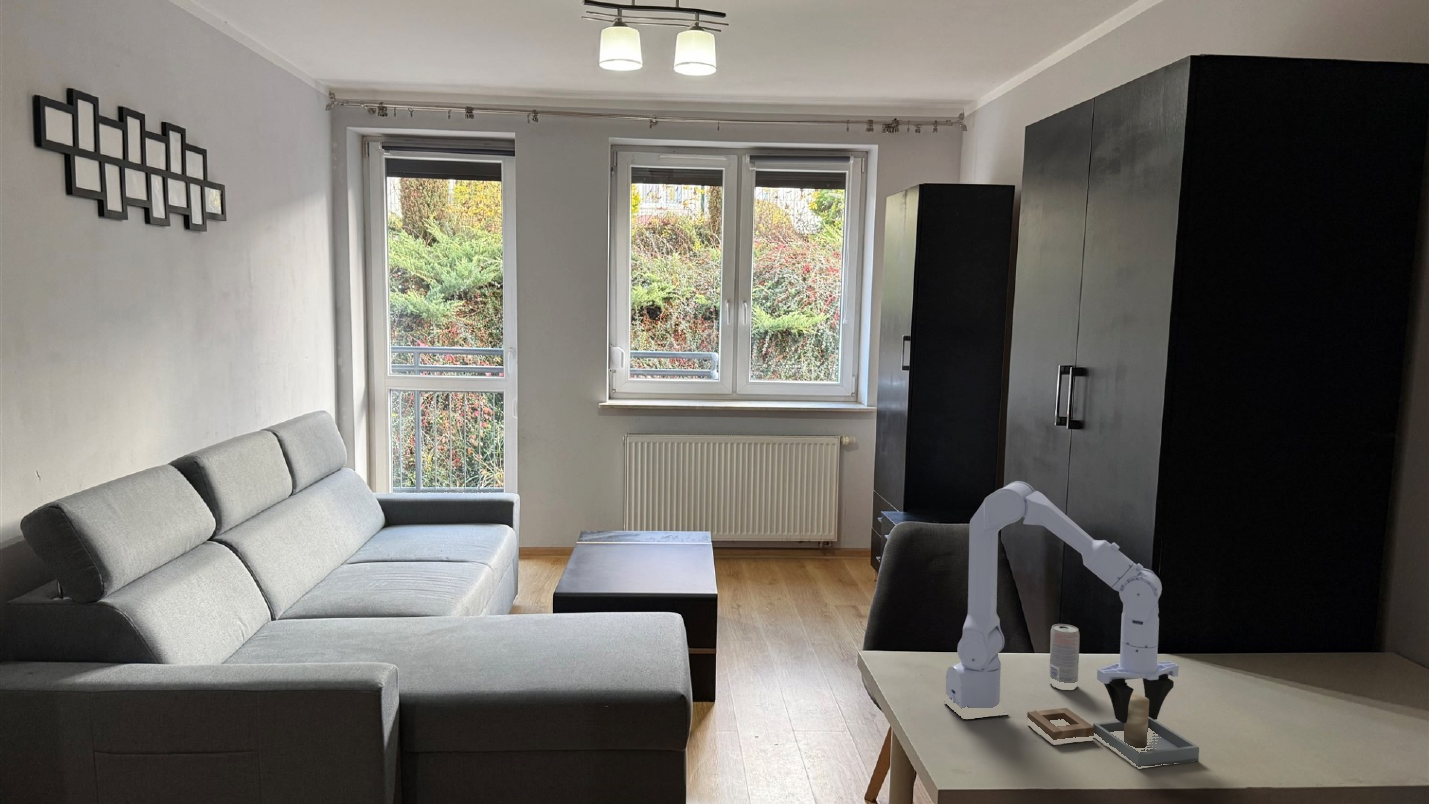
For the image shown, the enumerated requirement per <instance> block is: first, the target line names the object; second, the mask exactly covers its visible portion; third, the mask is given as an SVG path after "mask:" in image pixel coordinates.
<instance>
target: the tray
mask: <svg viewBox="0 0 1429 804" xmlns="http://www.w3.org/2000/svg"><path fill="white" fill-rule="evenodd" d="M1092 726H1093V727H1094V733H1095V734H1097V735H1098V736H1099V737H1101V738H1102V740H1104V741H1105V742H1106V743H1109V745H1110V746H1112V747H1114V748H1116V749H1117V750H1118V751H1119V752H1121V754H1123V755H1124V756H1126V757H1127V758H1128V759H1129V760H1131V761H1132V762H1133V763H1135V764H1136V766H1138V767H1141V766H1155V765H1161V764H1162V765H1163V764H1174V763H1183V764H1189V763H1188V762H1191V763H1194V762H1193V761H1198V762H1199V759H1200V758H1199V757H1200V756H1199V754H1200V747H1199V746H1198V745H1197V744H1195V743H1193V742H1192V741H1190V740H1188V739H1186V738H1185V737H1184V736H1182V735H1180V734H1179V733H1177V732H1175V731H1174V730H1172V729H1170V728H1169V727H1168V726H1166V725H1164V724H1163V723H1161V722H1159V721H1158V720H1157V719H1156V720H1153V719H1152V718H1150V717H1149V716H1148V728H1150V729H1151V730H1152V731H1154V732H1155V733H1156V734H1158V736H1155V735H1154V736H1152V737H1159V738H1156V739H1155V738H1153V739H1152V740H1154V741H1152V742H1149V743H1151V744H1149V745H1147V746H1150V747H1147V748H1153V749H1150V750H1148V749H1147V750H1146V751H1147V752H1140V753H1139V752H1138V751H1136V750H1135V749H1133V748H1132V747H1130V746H1129V745H1127V744H1126V743H1124V742H1123V741H1122V740H1120V739H1119V738H1117V737H1116V736H1114V735H1113V734H1111V733H1110V732H1114V731H1124V726H1125V723H1121V722H1120V721H1118V720H1111V721H1103V722H1101V721H1100V722H1094V723H1093V724H1092ZM1155 733H1153V734H1155ZM1160 737H1161V738H1160ZM1147 740H1148V739H1147ZM1150 740H1151V739H1150ZM1155 740H1158V741H1155ZM1147 743H1148V742H1147ZM1152 743H1153V744H1152ZM1155 743H1157V744H1155ZM1152 746H1153V747H1152ZM1155 748H1156V749H1155ZM1141 751H1145V749H1144V750H1141Z"/></svg>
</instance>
